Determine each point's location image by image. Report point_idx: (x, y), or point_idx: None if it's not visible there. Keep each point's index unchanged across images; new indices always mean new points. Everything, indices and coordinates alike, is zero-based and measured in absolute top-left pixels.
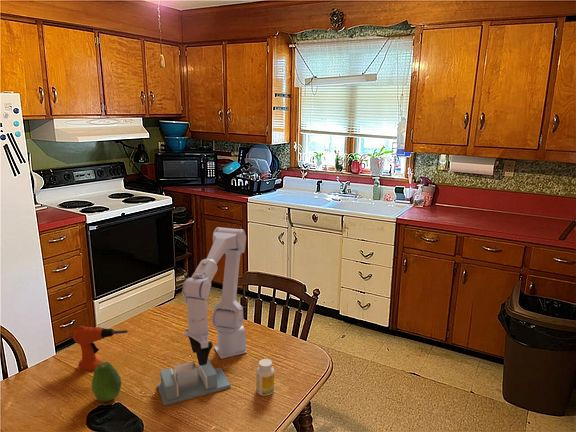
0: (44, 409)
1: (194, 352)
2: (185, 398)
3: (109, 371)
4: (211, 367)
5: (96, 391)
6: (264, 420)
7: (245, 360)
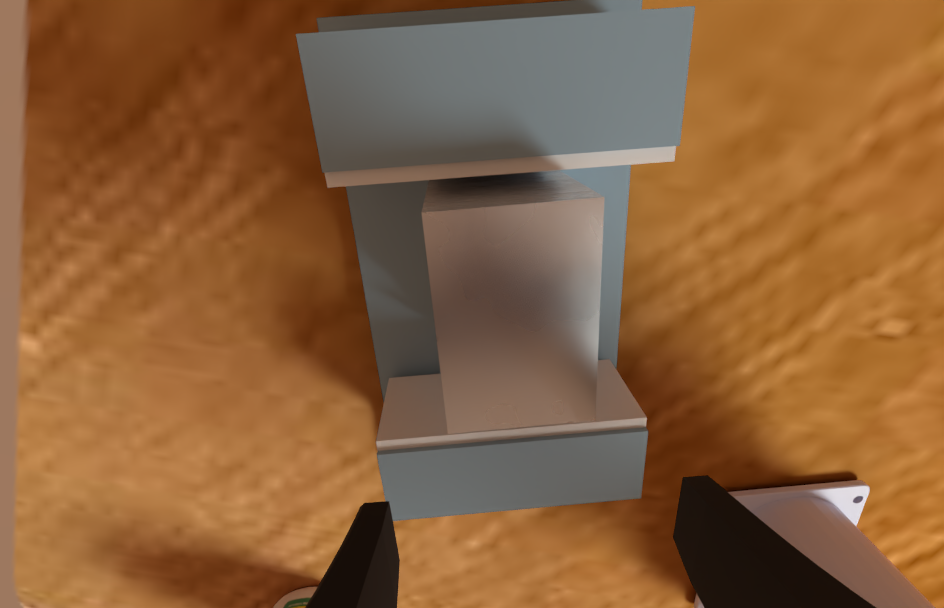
0: None
1: (684, 488)
2: (353, 217)
3: None
4: (500, 500)
5: None
6: (71, 570)
7: (627, 588)
